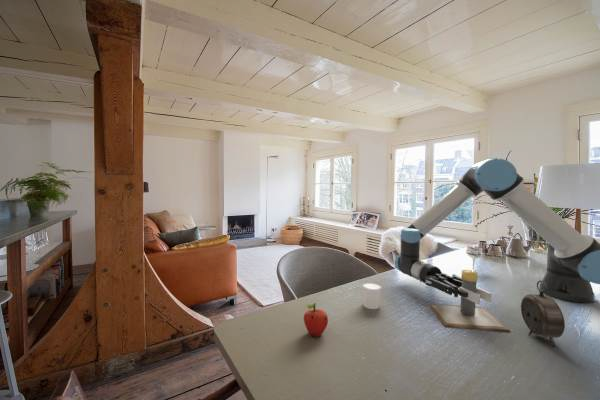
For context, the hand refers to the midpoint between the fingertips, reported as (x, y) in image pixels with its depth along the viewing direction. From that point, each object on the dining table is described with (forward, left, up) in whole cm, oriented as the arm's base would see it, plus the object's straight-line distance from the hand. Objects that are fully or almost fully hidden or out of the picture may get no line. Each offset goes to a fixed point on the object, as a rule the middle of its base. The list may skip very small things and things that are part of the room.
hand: (484, 298), depth 79 cm
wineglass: (-23, -53, -8) cm, 59 cm away
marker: (+2, -5, -7) cm, 9 cm away
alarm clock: (-12, +5, -8) cm, 15 cm away
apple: (+50, +13, -8) cm, 52 cm away
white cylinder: (+32, -8, -8) cm, 34 cm away
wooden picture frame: (+3, -4, -8) cm, 10 cm away
